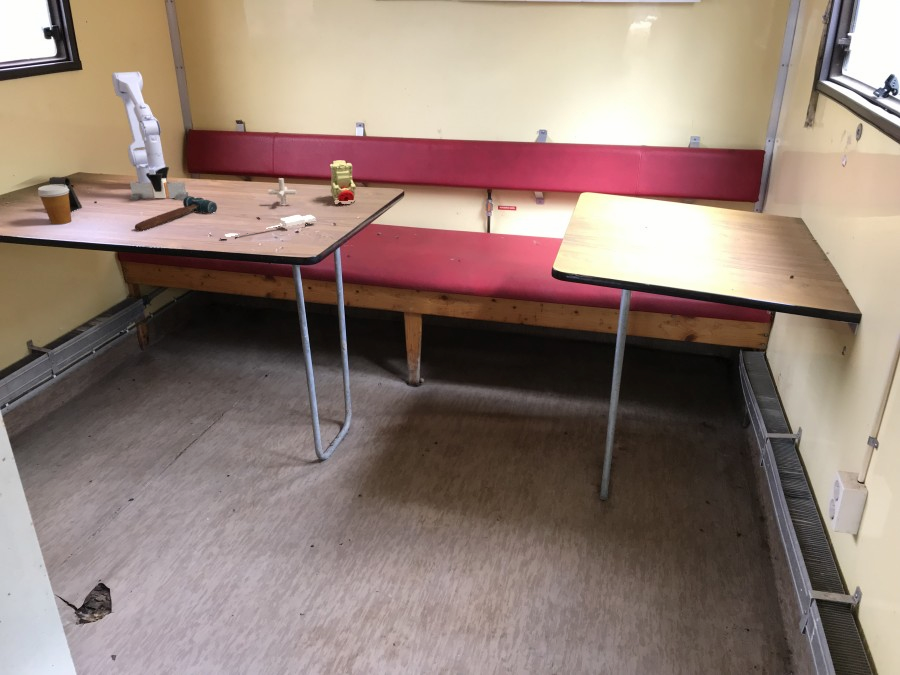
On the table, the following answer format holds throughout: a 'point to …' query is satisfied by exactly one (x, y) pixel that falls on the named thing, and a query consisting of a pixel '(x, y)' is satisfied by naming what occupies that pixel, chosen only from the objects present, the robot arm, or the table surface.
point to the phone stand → (72, 196)
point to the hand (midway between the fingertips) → (161, 189)
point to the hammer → (179, 212)
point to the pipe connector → (282, 191)
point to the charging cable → (288, 222)
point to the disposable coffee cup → (56, 202)
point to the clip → (162, 193)
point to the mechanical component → (342, 181)
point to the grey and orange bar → (146, 191)
